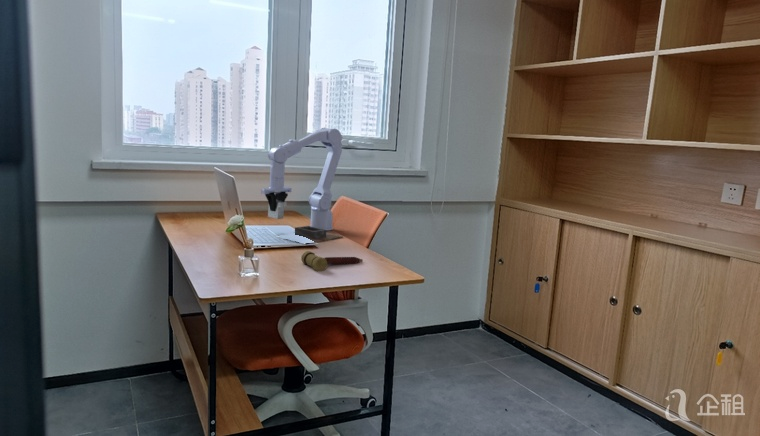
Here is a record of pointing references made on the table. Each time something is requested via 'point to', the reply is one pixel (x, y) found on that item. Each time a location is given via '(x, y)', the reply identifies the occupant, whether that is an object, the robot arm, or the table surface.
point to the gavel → (326, 261)
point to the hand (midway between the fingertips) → (276, 210)
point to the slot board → (315, 234)
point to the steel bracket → (277, 210)
